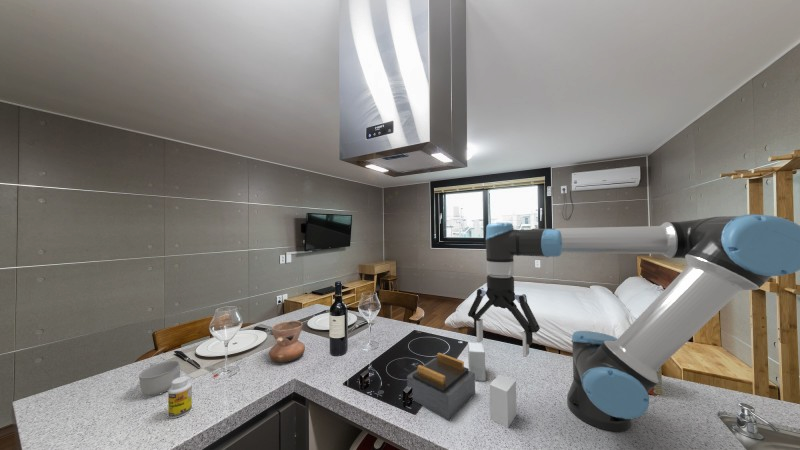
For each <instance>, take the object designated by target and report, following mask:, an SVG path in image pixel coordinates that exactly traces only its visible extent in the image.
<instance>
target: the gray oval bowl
mask: <svg viewBox="0 0 800 450" xmlns="http://www.w3.org/2000/svg"><path fill="white" fill-rule="evenodd" d="M179 377H181V362H180V360H175V359H174V360H173V359H172V360H167V361H162V362H159V363H157V362H154V363H151V364H150V365H149V366H148V367H147V368H145V369H144V370H142V371H141V372H140V373H138V379H139V388H140V390H141V393H143V395H145V396H147V395H148V396H151V395H154V396H157V395H156V394H159V395H161V394H160V393H162V394H164V393H163V392H165V393H166V391H167V392H168V391H169V389H170V388H171V387H172V381H173V380H175V379H176V378H179Z"/></svg>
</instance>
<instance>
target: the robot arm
mask: <svg viewBox="0 0 800 450" xmlns="http://www.w3.org/2000/svg"><path fill="white" fill-rule="evenodd" d="M485 228H486V229H485V231H486V233H485V251H486V253H485V254H486V255H485V257H486V274H487V276H486V287H487V288H486V289H485V288H484V287H481V288H478V289H477V290H476V297H475V299H474V301H473V303H472V304H471V307H470V309H469V311H468V313H467V316H468V318H471V319H473V329H474V330H475V331H476V343H482V341H483V340H484V331H483V330H484V329H483V328H484V326H483V324H484V323H483V322H484V321H483V319H482V318H481V317H482V316H483V315H484V314H485V313H486V312H487V311H488V310H489V309H490V307H492V306H493V307H494V308H501V309H507V310H508V311H509V312H510V313H511V315H513V317H514V318H515V319H516V321H517V322H518V323H519V325H520V326H521V327H522V329H523V330H524V331H522V357H525V358H527V357H528V356H529V354H530V346H531V345H532V343H533V341H534V340H533V333H538V331H540V330H541V327H540V325H539V323H538V321H537V320H536V317H535V315H534V313H533V311H532V309H531V308H530V306H529V303H528V300H527V294H524V293H523V294H516V293H515V277H514V276H513V275H514V273H515V270H514V269H515V268H514V266H515V263H514V260H515V259H514V256H517V257H518V256H519V257H520V256H524V257H541V258H543V257H545V258H551V257H555V258H556V257H560V256H561V255H562V253H571V254H572V253H575V254H576V253H577V254H578V253H579V254H582V253H583V254H584V253H585V254H587V253H588V254H639V255H640V254H641V255H643V254H645V255H646V254H647V255H654V254H655V255H663V256H664V257H666V258H669V259H670V258H671V259H685V260H686V263H687V266H685V268H683V270H682V271H681V272H680V274H678V275H677V277H675V278H674V279H673V280H672V281H671V283H670V284H669V285H667V286H666V288H665V289H664V290H663V291H662V292H661V293H660V294H659V295H658V296H657V297H656V298H655V299H654V301H652V303H650V305H649V306H648V307H647V308H646V309H645V310H644V311H643V312H642V313H641V314H639V316H638V317H637V318H636V319H635V320H634V321H633V322H632V324H630V326H628V328H627V329H626V330H625V331H624V332H622V334H621V335H620V336H618V338H617V337H616V336H613V335H609V334H606V333H602V332H598V331H590V330H589V331H588V330H577V331H574V332H573V333H572V336H571V337H572V338H571V344H572V345H571V346H572V373H573V374H572V375H573V376H572V377H573V379H572V382H571V384H570V387H569V390H568V392H567V396H566V403H567V407H568V409H569V410H570V412H571V413H572V415H573V414H574V415H575V416H576V417H577V418H578V419H579V420H581V421H582V422H584V423H587V424H588V425H590V426H593V427H594V428H598V429H601V430H605V431H609V432H626V431H629V429H630V428H631V427H632V420H633V419H636V418H637V419H638V418H639V417H642V416H643V415H644V414H645V413H646V412H647V411H648V409H649V407H650V397H649V396H650V395H648V392H649V391H650V390H651V389H652V388H653V387H654V386H655V385H656V384H657V383H658V382H659V380H658V377H657V373H656V372H657V370H658V369H659V368H660V367H661V368H662V366H663V365H664V364H666V362H667V361H669V360H670V358H671V357H672V356H673V355H675V354H676V353H677V352H678V351H679V350H680V349H681V348H682V347H683V346H684V345H685V344H686V343H687V342H688V341H690V340H691V338H692V337H693V336H694V335H695V334H696V333H698V332H699V331H700V330H701V329H702V328H703V327H705V326H706V324H707V323H708V322H709V321H710V320H712V318H713V317H714V316H715V315H716V314H718V313H719V311H721V310H722V309H723V308H725V306H726V305H727V304H728V303H729V302H730V301H731V300H732V299H733V298H734V297H736V296H737V294H739V293H740V292H742V291H755V290H757V291H758V290H759V289H760V288H761V287H762V286H764V285H765V283H767V282H768V281H769V280H770V279H771V278H772V277H780V276H785V275H790V274H791V275H792V274H794V273H796V272H799V271H800V224H798V223H796V222H794V221H792V220H790V219H787V218H784V217H780V216H776V215H767V214H766V215H765V214H757V213H753V214H752V213H749V214H748V213H747V214H743V215H735V216H734V215H730V216H727V215H726V216H714V217H713V216H712V217H704V218H699V219H692V220H684V221H683V220H681V221H665V222H662V224H661V225H648V226H647V225H646V226H641V225H640V226H608V227H607V226H605V227H604V226H603V227H602V226H601V227H567V228H566V227H564V228H563V227H559V228H556V227H555V228H531V229H514V226H513V223H511V222H503V223H502V222H498V223H497V222H496V223H494V222H493V223H488V224H487V225H486V227H485ZM484 296H486V297H487V299H488V300H487V301H485V303H484V305H483V306H482V307H481V308H480V309H479V307H480V304H481V303H482V300H483V298H484ZM515 300H516V301H517V303H518V304H519V305H520V309H521V310H522V312H523V313H522V312H521V311H520V310H519V308H518V306H517V304H516V303H515V302H514V301H515ZM478 309H479V310H478ZM477 310H478V311H477ZM523 314H524V315H523Z"/></svg>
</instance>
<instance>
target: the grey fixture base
mask: <svg viewBox="0 0 800 450" xmlns="http://www.w3.org/2000/svg"><path fill="white" fill-rule="evenodd" d="M406 382H407V383H406V384H407V386H406V387H411V388H413V391H412V393H413V400H414V402H415V403H416V404H419V405H420V404H421V405H420V406H422V407H424V408H426V409H427V410H429V411H431V412H433V413H435V414H437V416H440V417H442V418H443V419H445V420H447V421H448V422H450V421H452V419H453V418H454V417H455V416H456V415H457V413H459V412H460V411H461V410H462V408H464V407H465V405H467V403H468V402H469V401H470V400H471V399H472V398H473V397H474V396H475V395H476V380H475V373H473V372H471V371H469V367H466V366H465V361H463V360H460V359H458V358H455V357H452V356H449V355H446V354H445V353H441V352H438V353H437V354H436V357H434V358H433V359H431V360H429V361H428V362H427V363H425V364H423V365H421V364H419V365H417V369H415V370H414V371H412V372H411V373H410V374H408V375H407V376H406ZM413 400H412V401H413Z"/></svg>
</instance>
